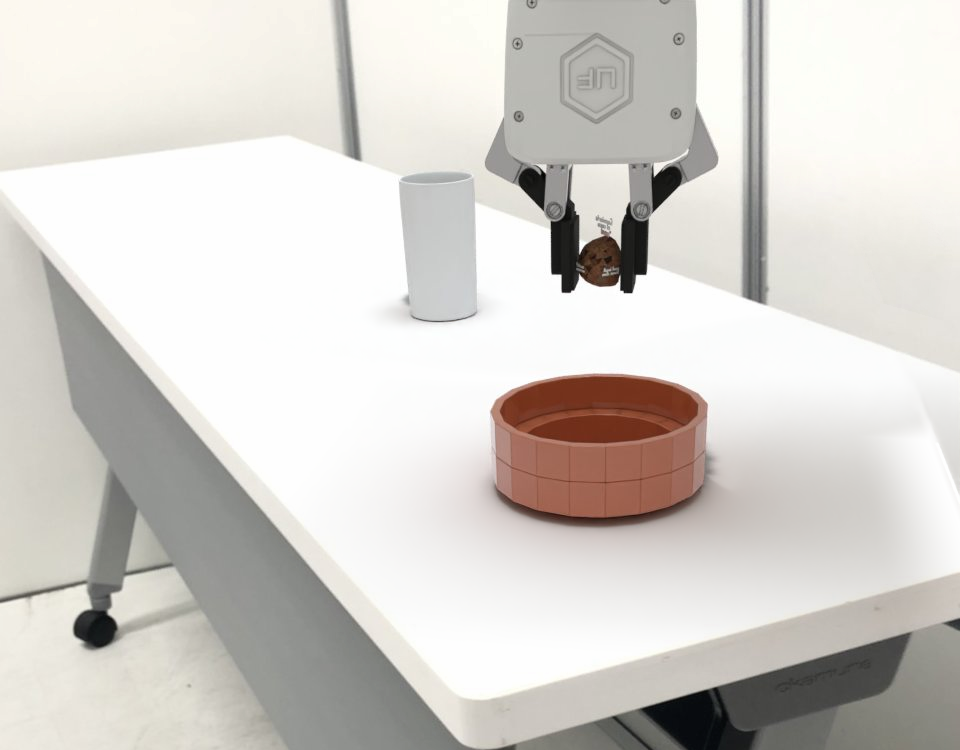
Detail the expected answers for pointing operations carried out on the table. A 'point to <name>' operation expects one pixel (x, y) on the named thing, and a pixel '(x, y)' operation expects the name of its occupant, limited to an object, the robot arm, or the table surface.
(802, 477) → the table surface
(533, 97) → the robot arm
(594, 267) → the chocolate
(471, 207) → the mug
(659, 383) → the bowl
